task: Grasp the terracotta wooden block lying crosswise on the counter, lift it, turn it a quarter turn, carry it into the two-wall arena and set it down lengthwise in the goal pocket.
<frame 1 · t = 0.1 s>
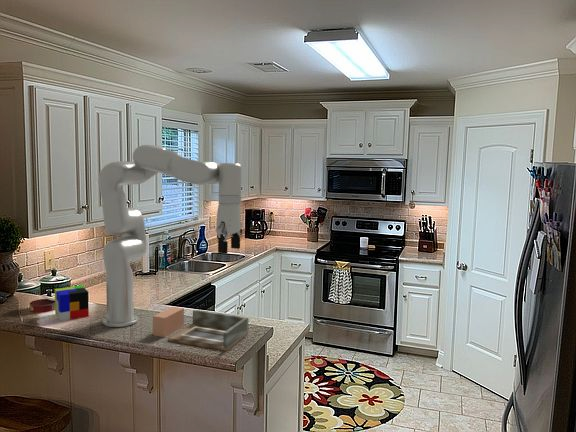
hand: (229, 250, 160), 31 cm above the worktop, tool pointing down, fingers open, 9 cm apart
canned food: (43, 309, 191), on the worktop
puzzle toy: (71, 315, 184), on the worktop
block: (168, 330, 171), on the worktop
arena: (209, 337, 165), on the worktop
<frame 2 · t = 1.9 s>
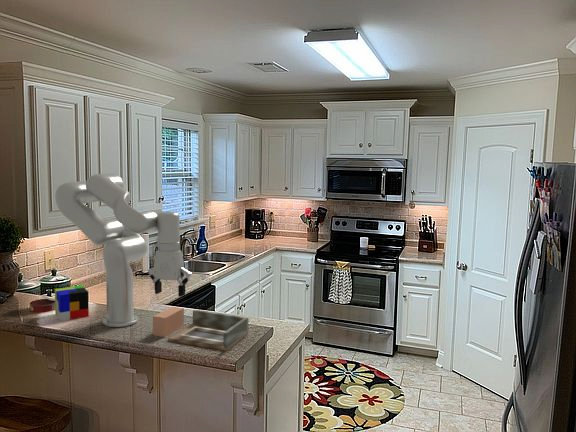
hand: (169, 294, 169), 13 cm above the worktop, tool pointing down, fingers open, 9 cm apart
nothing on the worktop moved.
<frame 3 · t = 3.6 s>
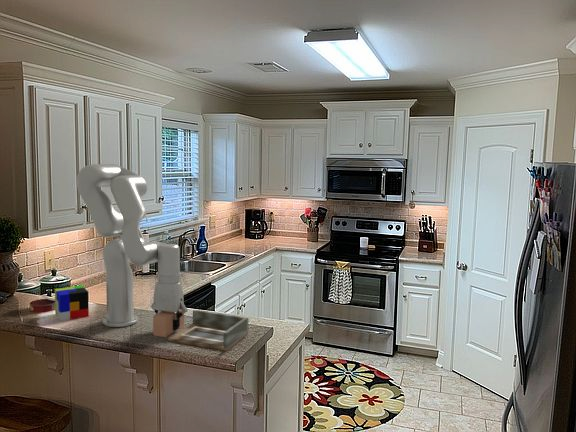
hand: (169, 327, 171), 1 cm above the worktop, tool pointing down, fingers closed on block, 5 cm apart
block: (169, 330, 171), on the worktop, touching gripper
everything else where it was.
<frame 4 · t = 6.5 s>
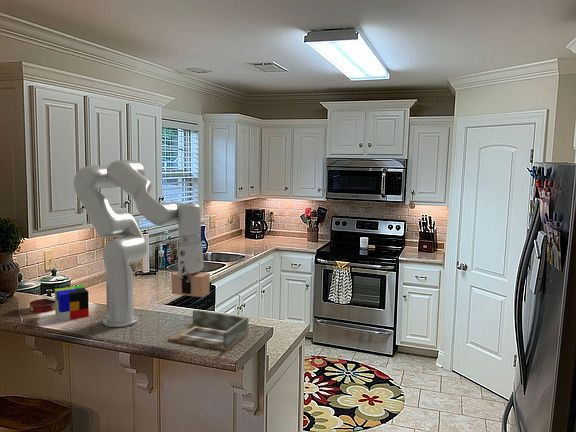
hand: (190, 290, 165), 16 cm above the worktop, tool pointing down, fingers closed on block, 5 cm apart
block: (190, 293, 165), point 15 cm above the worktop, touching gripper
everything else where it was.
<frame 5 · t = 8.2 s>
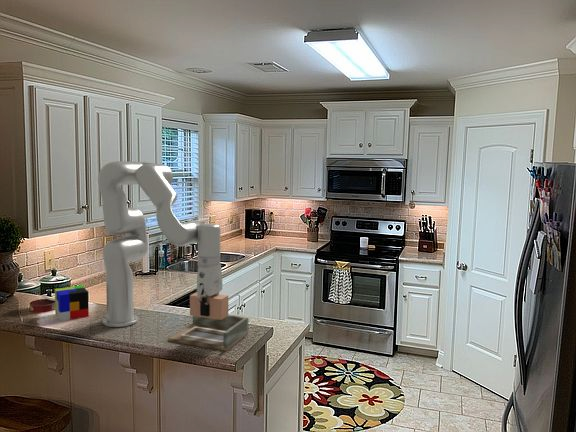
hand: (209, 312, 161), 10 cm above the worktop, tool pointing down, fingers closed on block, 5 cm apart
block: (209, 315, 161), point 9 cm above the worktop, touching gripper
everything else where it was.
when the fingers open (4 cm above the worktop, at t = 9.7 s): block drops 1 cm, resting on arena.
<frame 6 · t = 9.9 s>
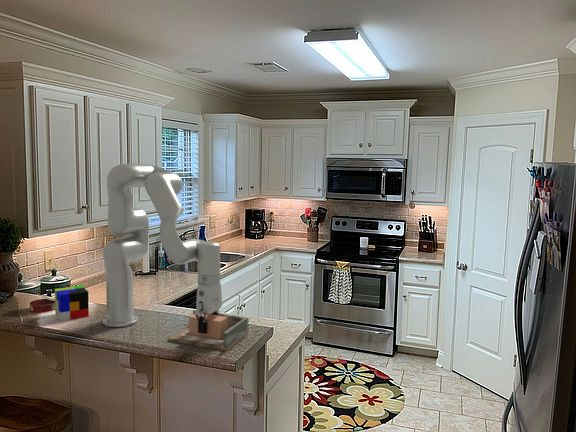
hand: (208, 328, 162), 4 cm above the worktop, tool pointing down, fingers open, 7 cm apart
block: (208, 336, 162), point 1 cm above the worktop, touching arena
everything else where it was.
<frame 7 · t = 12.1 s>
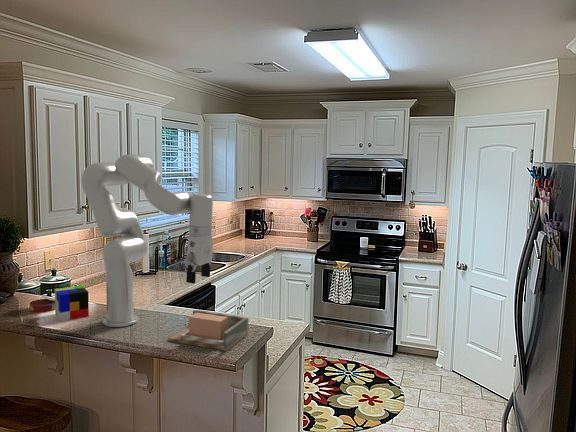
hand: (198, 279, 163), 20 cm above the worktop, tool pointing down, fingers open, 9 cm apart
nothing on the worktop moved.
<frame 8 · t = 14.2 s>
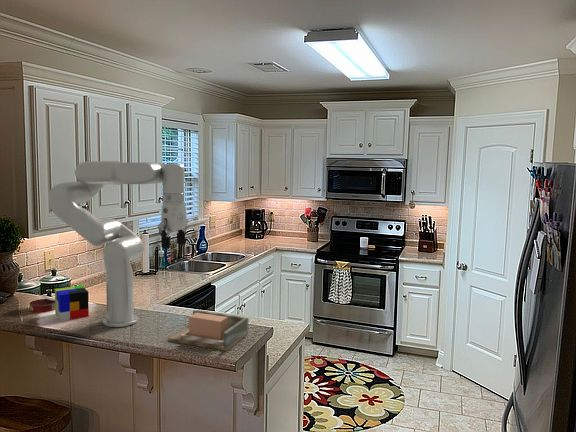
hand: (173, 245, 171), 30 cm above the worktop, tool pointing down, fingers open, 9 cm apart
nothing on the worktop moved.
at the end: block 0.1 cm from the target spot on the arena, point 1.2 cm above the arena's base; block tilted 0°; the gripper is holding nothing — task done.
